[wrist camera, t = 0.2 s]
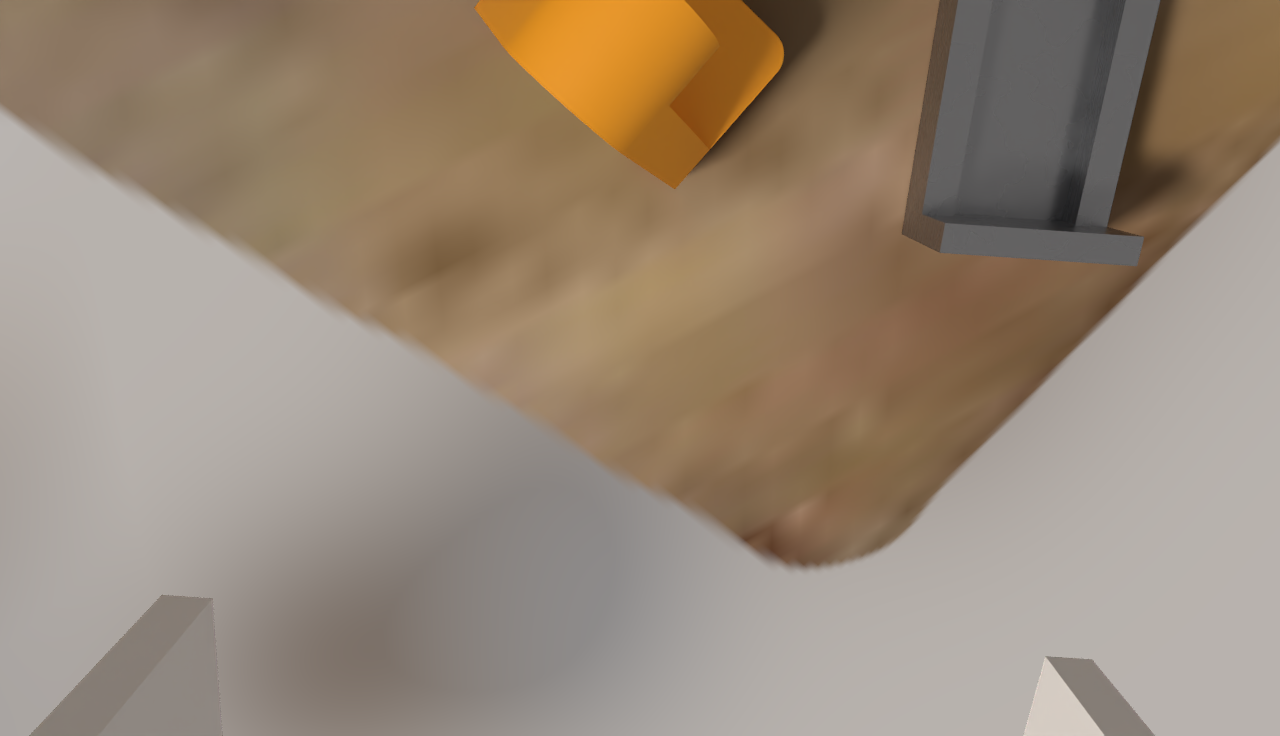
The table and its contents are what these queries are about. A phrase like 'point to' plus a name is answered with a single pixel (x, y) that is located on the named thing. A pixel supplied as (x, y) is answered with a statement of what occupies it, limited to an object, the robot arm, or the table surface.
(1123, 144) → the v block
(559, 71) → the bracket
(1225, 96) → the table surface
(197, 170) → the table surface
